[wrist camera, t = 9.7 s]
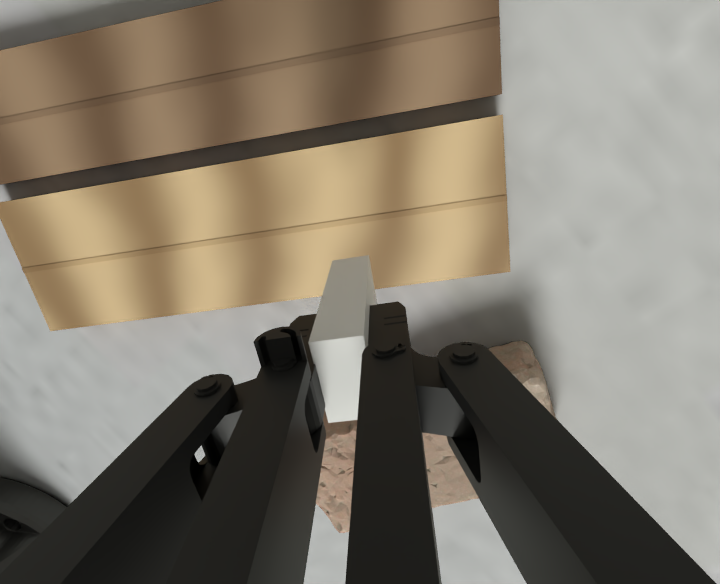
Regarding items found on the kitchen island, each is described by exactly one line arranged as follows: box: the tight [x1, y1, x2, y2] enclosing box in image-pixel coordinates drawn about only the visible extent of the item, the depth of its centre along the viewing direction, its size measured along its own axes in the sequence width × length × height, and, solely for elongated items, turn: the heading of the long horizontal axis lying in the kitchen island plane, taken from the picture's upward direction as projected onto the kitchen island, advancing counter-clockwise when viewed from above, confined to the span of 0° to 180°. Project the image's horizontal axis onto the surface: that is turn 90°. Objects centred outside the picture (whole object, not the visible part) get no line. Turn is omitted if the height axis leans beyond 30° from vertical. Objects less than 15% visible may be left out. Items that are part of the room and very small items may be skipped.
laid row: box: [0, 0, 502, 185], centre depth 21 cm, size 28×6×1 cm, turn 100°
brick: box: [316, 341, 556, 533], centre depth 28 cm, size 17×8×5 cm, turn 114°
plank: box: [0, 115, 510, 331], centre depth 24 cm, size 28×8×1 cm, turn 100°
